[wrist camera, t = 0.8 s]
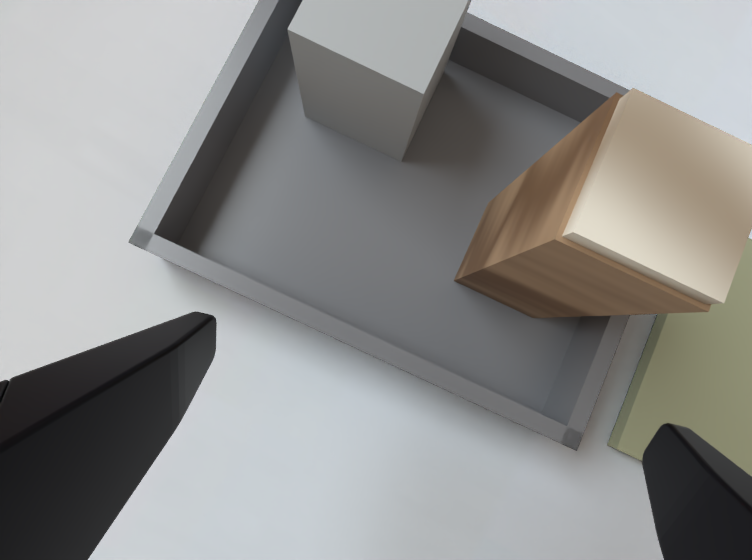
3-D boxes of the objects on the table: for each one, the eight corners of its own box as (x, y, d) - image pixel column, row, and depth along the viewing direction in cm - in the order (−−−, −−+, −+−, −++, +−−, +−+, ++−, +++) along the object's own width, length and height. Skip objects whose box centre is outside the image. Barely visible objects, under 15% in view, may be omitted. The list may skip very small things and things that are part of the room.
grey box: (401, 161, 24) (423, 94, 17) (304, 116, 24) (287, 29, 17) (443, 71, 24) (482, -30, 17) (350, 27, 24) (351, -93, 17)
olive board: (781, 526, 24) (796, 533, 23) (607, 445, 23) (616, 449, 23) (856, 298, 25) (873, 297, 24) (693, 220, 25) (704, 217, 24)
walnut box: (533, 318, 23) (727, 311, 11) (453, 280, 23) (565, 234, 11) (565, 239, 24) (784, 154, 12) (488, 202, 24) (630, 80, 12)
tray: (545, 433, 23) (576, 450, 20) (158, 253, 23) (128, 242, 20) (658, 150, 25) (703, 125, 22) (303, -19, 25) (296, -70, 22)
